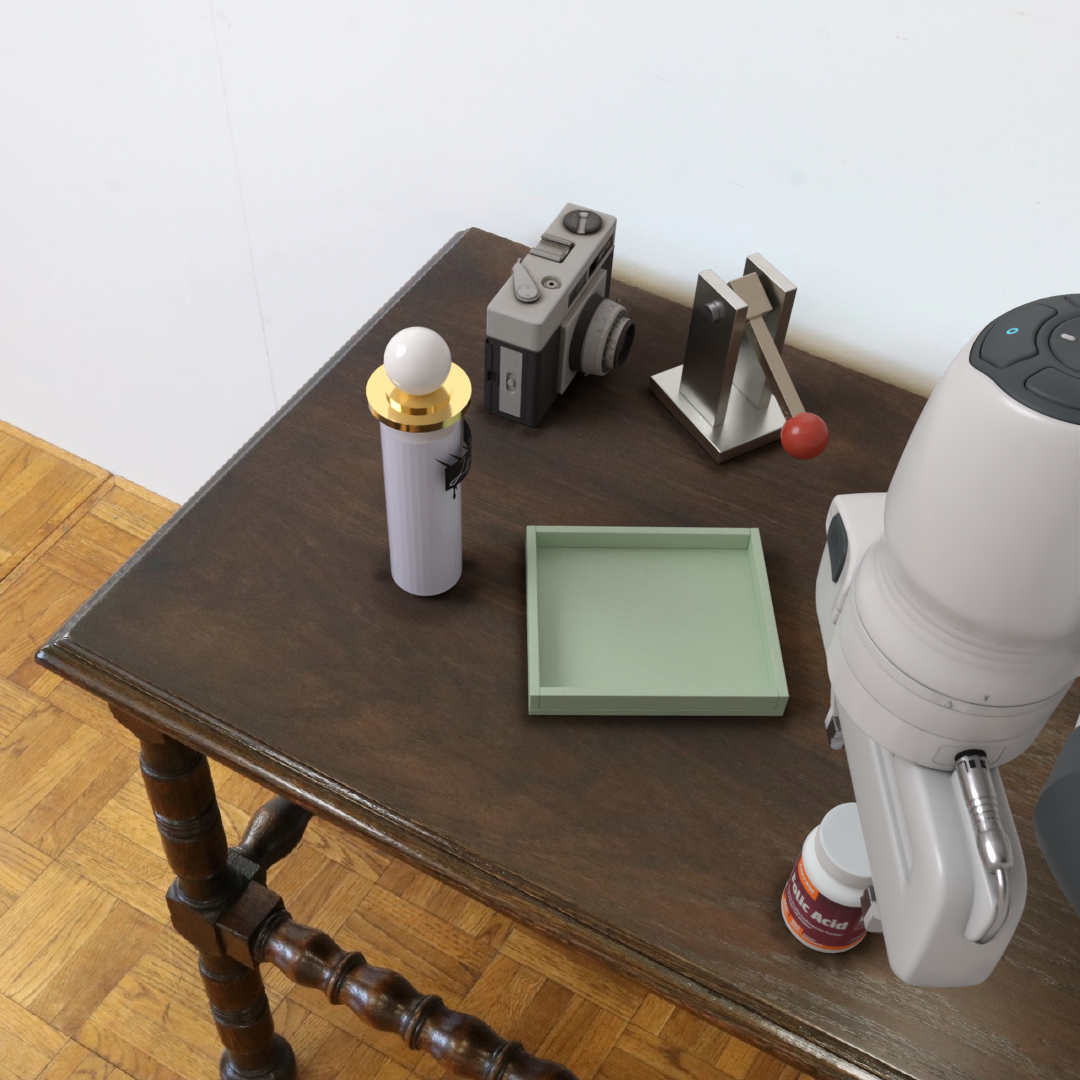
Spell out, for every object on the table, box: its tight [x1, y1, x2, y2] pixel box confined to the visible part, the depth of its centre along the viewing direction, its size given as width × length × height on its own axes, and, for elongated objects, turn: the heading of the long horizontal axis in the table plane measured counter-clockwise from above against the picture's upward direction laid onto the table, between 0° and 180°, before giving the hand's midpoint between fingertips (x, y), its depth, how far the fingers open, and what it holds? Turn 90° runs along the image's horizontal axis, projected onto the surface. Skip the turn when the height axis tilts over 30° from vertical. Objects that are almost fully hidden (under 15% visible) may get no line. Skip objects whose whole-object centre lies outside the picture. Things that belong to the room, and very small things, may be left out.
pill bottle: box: [780, 802, 873, 954], centre depth 64 cm, size 5×5×8 cm
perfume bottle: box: [365, 326, 473, 597], centre depth 74 cm, size 6×6×20 cm
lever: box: [726, 272, 830, 461], centre depth 85 cm, size 13×3×3 cm
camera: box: [483, 202, 636, 428], centre depth 91 cm, size 14×8×10 cm, turn 155°
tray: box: [525, 525, 790, 717], centre depth 79 cm, size 15×13×2 cm
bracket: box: [648, 252, 798, 464], centre depth 88 cm, size 9×7×12 cm
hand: (860, 823), depth 60 cm, fingers open, 8 cm apart
